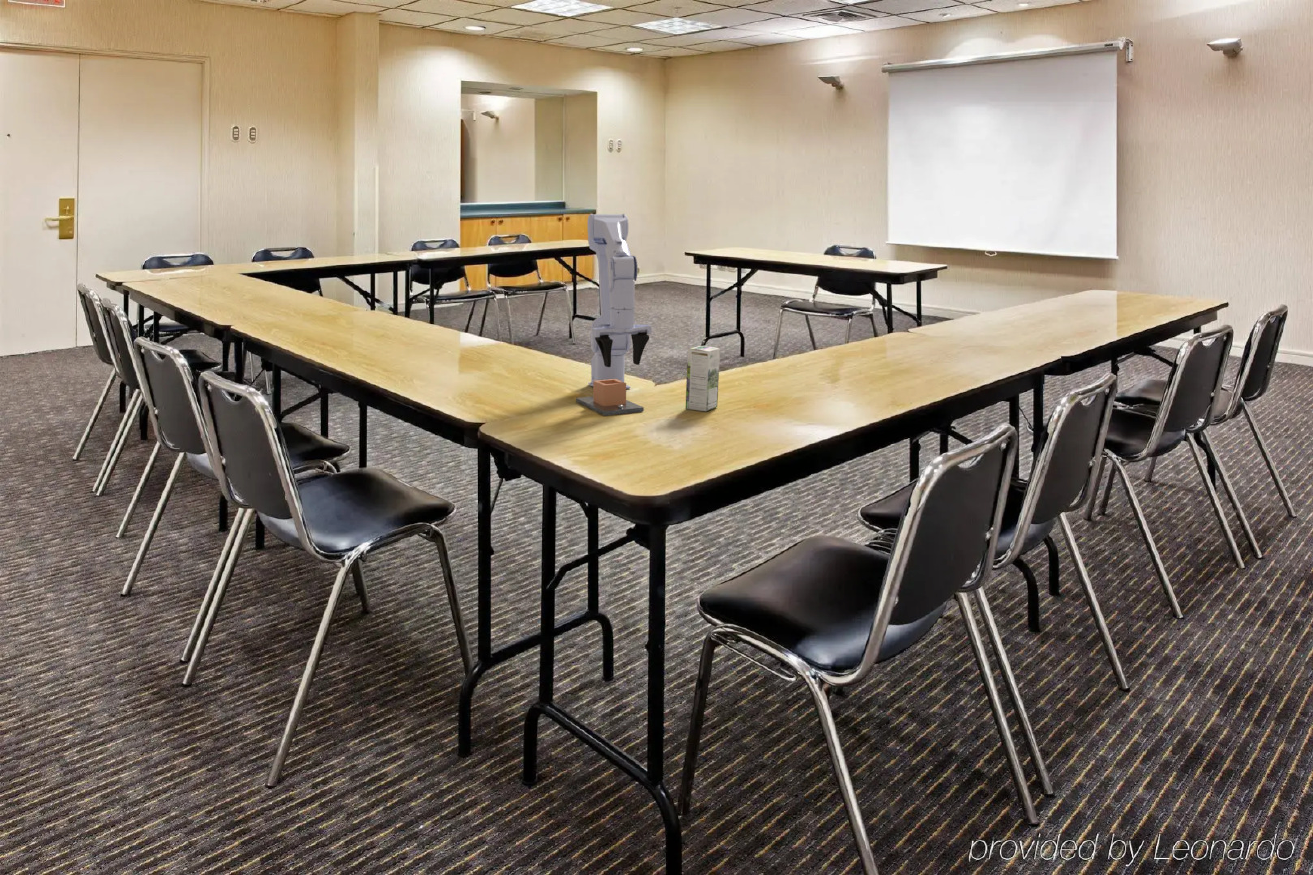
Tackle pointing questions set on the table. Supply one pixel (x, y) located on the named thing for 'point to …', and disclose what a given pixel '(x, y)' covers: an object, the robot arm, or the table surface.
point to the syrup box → (702, 378)
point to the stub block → (610, 407)
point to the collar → (609, 392)
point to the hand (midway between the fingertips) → (622, 365)
